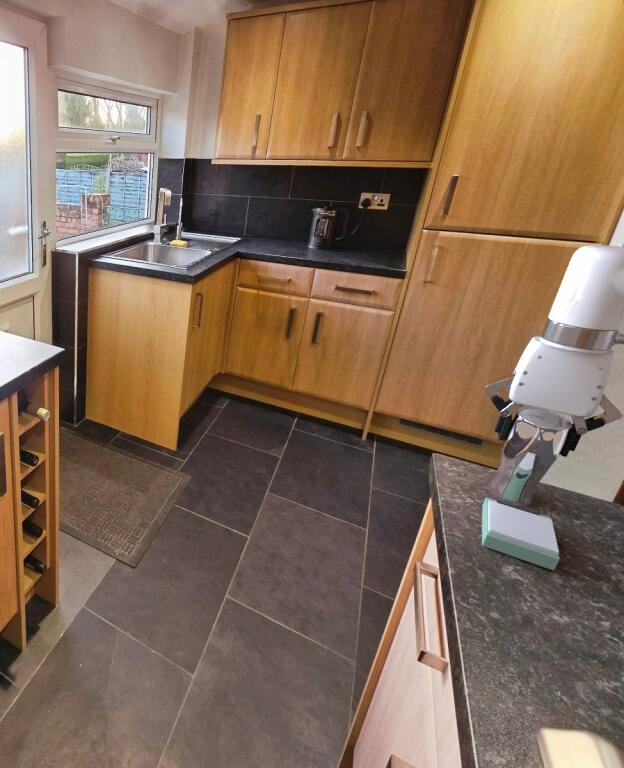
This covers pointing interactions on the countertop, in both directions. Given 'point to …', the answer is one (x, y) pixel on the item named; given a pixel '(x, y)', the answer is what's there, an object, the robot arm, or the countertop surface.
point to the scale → (519, 533)
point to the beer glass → (528, 454)
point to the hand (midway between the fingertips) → (530, 444)
